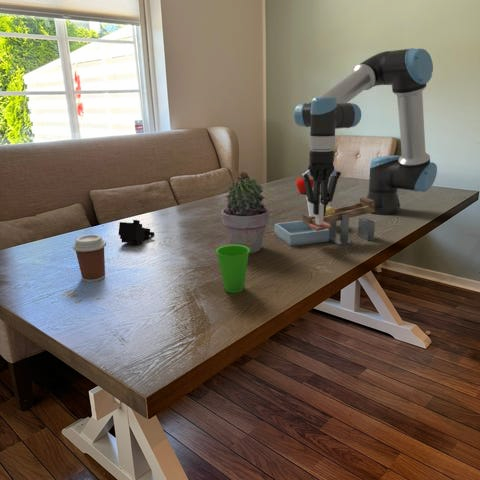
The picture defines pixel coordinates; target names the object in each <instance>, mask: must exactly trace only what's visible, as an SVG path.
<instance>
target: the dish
mask: <svg viewBox="0 0 480 480" xmlns="http://www.w3.org/2000/svg"><path fill="white" fill-rule="evenodd" d="M274 235H276V237H277V238H279V239H281V241H283V242H284V243H285V244H287V245H288V246H290V247H294V246H302V245H310V244H317V243H325V242H330V241H329V228H328V229H324V230H320V231H316V230H314V229H313V228H310V227H309V226H307V225H305V224H304V223H303V220H296V221H287V222H286V221H285V222H278V223H274Z"/></svg>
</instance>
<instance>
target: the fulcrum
mask: <svg viewBox="0 0 480 480" xmlns="http://www.w3.org/2000/svg"><path fill="white" fill-rule="evenodd" d="M337 222H338V221H336V222H332V223H328V224H330V225H331V228H328V230H329V241H328V242H331V243H333V244H334V245H335V246H337V247H341V246H343V247H344V246H350V245H352V242H351V240H349V227H350V226H349V225H350V223H349V222H350V218H349V215H348V214H346V215H341V220H340V233H339V234H340V235H339V234H337Z"/></svg>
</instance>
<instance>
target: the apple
mask: <svg viewBox="0 0 480 480" xmlns="http://www.w3.org/2000/svg"><path fill="white" fill-rule="evenodd" d="M310 181H311V185H312V189H313V185H314V183H313V178H312V177H310ZM295 185H296V188H297V190H298V192H299V193H300V194H304V195H307V194H306V189H305V184H304V180H303V178H302V177H299V178H296V183H295Z"/></svg>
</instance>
